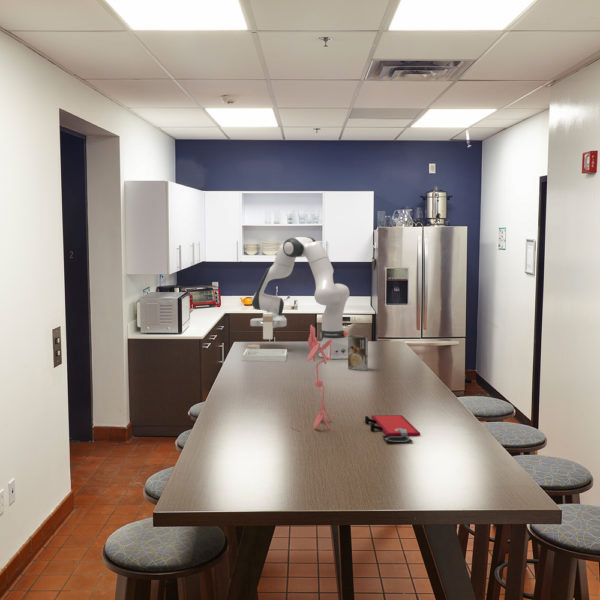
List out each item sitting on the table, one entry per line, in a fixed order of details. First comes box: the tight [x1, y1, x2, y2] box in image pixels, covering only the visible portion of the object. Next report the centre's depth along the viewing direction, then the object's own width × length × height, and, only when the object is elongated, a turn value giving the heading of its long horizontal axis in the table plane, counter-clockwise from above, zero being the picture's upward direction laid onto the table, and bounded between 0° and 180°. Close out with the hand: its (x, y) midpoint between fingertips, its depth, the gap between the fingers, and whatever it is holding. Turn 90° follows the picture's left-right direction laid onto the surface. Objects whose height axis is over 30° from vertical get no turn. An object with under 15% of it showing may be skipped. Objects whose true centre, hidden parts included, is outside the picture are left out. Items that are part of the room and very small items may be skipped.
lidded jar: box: [247, 343, 261, 355], centre depth 342 cm, size 6×6×7 cm
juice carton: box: [262, 312, 274, 340], centre depth 359 cm, size 5×5×14 cm
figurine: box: [291, 324, 336, 433], centre depth 228 cm, size 15×26×35 cm, turn 173°
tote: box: [242, 348, 288, 362], centre depth 344 cm, size 22×18×4 cm
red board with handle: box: [364, 414, 421, 443], centre depth 224 cm, size 30×3×15 cm
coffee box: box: [347, 334, 369, 371], centre depth 323 cm, size 9×6×16 cm
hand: (267, 324), depth 358 cm, fingers closed on juice carton, 5 cm apart
